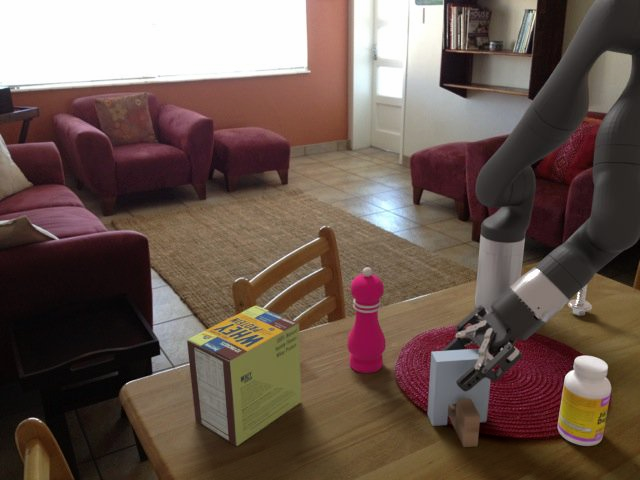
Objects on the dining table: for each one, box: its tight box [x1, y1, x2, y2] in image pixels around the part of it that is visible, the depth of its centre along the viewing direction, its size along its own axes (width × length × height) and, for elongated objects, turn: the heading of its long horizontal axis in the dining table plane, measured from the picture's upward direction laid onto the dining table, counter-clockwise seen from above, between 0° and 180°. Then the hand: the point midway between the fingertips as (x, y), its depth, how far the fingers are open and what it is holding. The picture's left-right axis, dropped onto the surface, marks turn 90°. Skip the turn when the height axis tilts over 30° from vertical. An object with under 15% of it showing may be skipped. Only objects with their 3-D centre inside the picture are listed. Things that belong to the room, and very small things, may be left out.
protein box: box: [186, 305, 302, 447], centre depth 100 cm, size 10×15×16 cm
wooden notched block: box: [448, 399, 481, 448], centre depth 101 cm, size 17×2×6 cm, turn 6°
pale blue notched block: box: [427, 348, 492, 427], centre depth 98 cm, size 9×3×12 cm, turn 96°
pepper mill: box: [346, 267, 387, 374], centre depth 112 cm, size 7×7×20 cm
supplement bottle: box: [557, 355, 612, 447], centre depth 94 cm, size 7×7×13 cm
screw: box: [567, 283, 593, 317], centre depth 132 cm, size 13×5×5 cm
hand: (452, 372), depth 97 cm, fingers open, 8 cm apart
